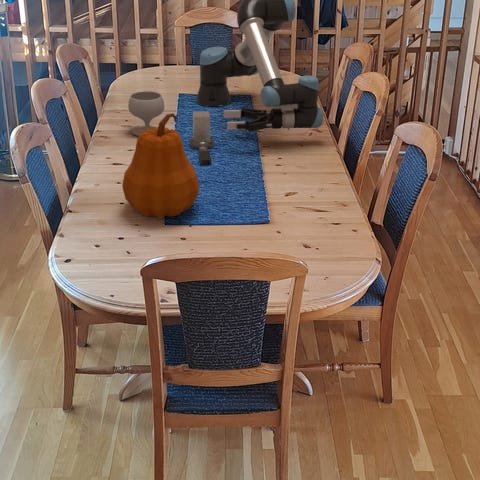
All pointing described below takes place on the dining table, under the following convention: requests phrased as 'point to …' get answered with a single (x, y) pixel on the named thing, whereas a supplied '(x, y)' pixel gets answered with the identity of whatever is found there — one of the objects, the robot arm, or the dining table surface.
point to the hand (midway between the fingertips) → (225, 119)
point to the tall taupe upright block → (201, 127)
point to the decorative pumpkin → (160, 174)
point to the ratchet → (203, 150)
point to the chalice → (145, 108)
